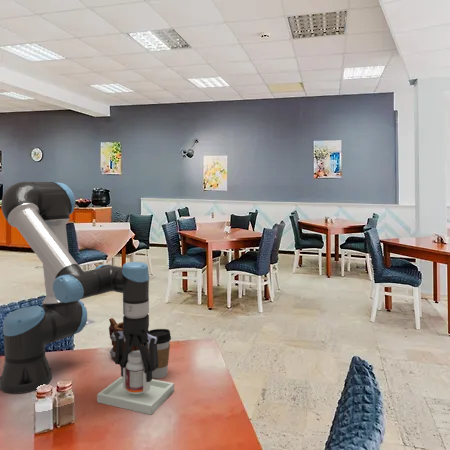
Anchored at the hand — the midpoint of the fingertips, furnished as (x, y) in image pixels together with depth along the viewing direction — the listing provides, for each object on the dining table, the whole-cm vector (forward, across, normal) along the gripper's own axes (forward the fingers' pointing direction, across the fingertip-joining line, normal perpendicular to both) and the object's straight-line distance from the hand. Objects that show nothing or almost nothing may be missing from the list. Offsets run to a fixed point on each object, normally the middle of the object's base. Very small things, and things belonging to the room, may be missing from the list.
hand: (136, 388), depth 121 cm
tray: (+2, 0, 0) cm, 2 cm away
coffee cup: (+3, -1, +15) cm, 15 cm away
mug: (+3, -21, +24) cm, 32 cm away
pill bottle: (+1, 0, 0) cm, 1 cm away
